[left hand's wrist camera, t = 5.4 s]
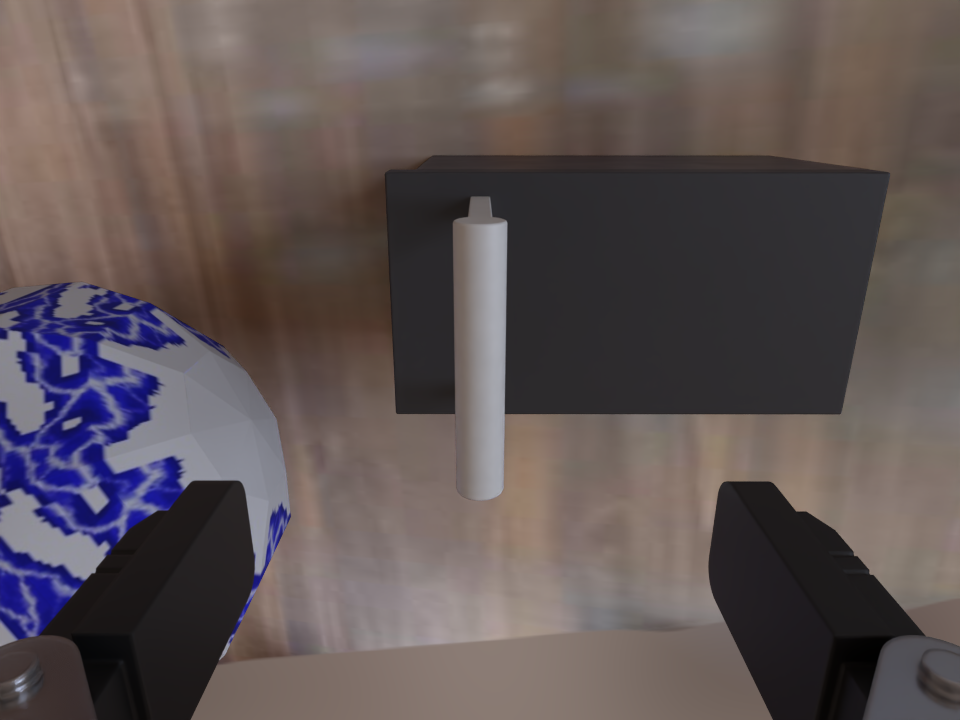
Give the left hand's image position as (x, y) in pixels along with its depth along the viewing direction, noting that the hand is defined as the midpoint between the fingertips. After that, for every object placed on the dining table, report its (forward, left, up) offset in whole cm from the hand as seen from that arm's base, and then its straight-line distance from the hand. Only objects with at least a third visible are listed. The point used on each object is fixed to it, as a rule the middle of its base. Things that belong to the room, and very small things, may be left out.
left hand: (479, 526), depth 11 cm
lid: (+6, -1, -16) cm, 17 cm away
